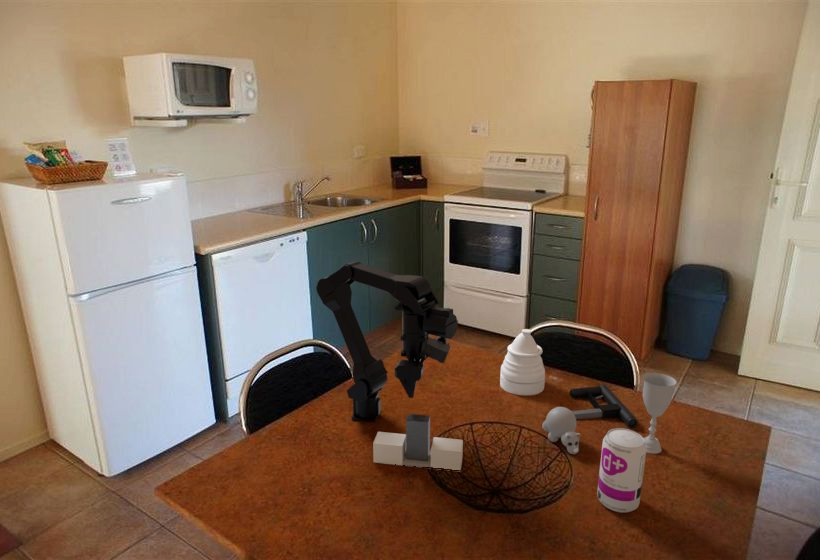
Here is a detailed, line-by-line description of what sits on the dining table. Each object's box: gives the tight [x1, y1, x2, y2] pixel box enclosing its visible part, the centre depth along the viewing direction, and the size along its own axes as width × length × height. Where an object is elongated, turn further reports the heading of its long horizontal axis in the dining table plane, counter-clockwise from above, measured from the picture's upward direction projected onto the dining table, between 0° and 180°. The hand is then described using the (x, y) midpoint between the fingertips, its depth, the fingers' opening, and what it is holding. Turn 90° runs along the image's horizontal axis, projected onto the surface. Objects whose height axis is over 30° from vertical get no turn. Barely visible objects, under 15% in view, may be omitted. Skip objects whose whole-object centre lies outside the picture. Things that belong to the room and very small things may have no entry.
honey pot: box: [499, 328, 546, 396], centre depth 166 cm, size 13×13×18 cm
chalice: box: [641, 372, 678, 455], centre depth 135 cm, size 7×7×18 cm
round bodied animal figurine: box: [542, 406, 582, 455], centre depth 137 cm, size 7×12×8 cm, turn 13°
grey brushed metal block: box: [405, 413, 431, 462], centre depth 130 cm, size 5×3×10 cm, turn 80°
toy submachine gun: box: [569, 384, 639, 429], centre depth 154 cm, size 3×20×16 cm
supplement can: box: [596, 427, 647, 513], centre depth 116 cm, size 8×8×15 cm
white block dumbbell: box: [372, 431, 464, 471], centre depth 131 cm, size 20×5×5 cm, turn 80°
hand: (414, 388), depth 140 cm, fingers open, 9 cm apart
